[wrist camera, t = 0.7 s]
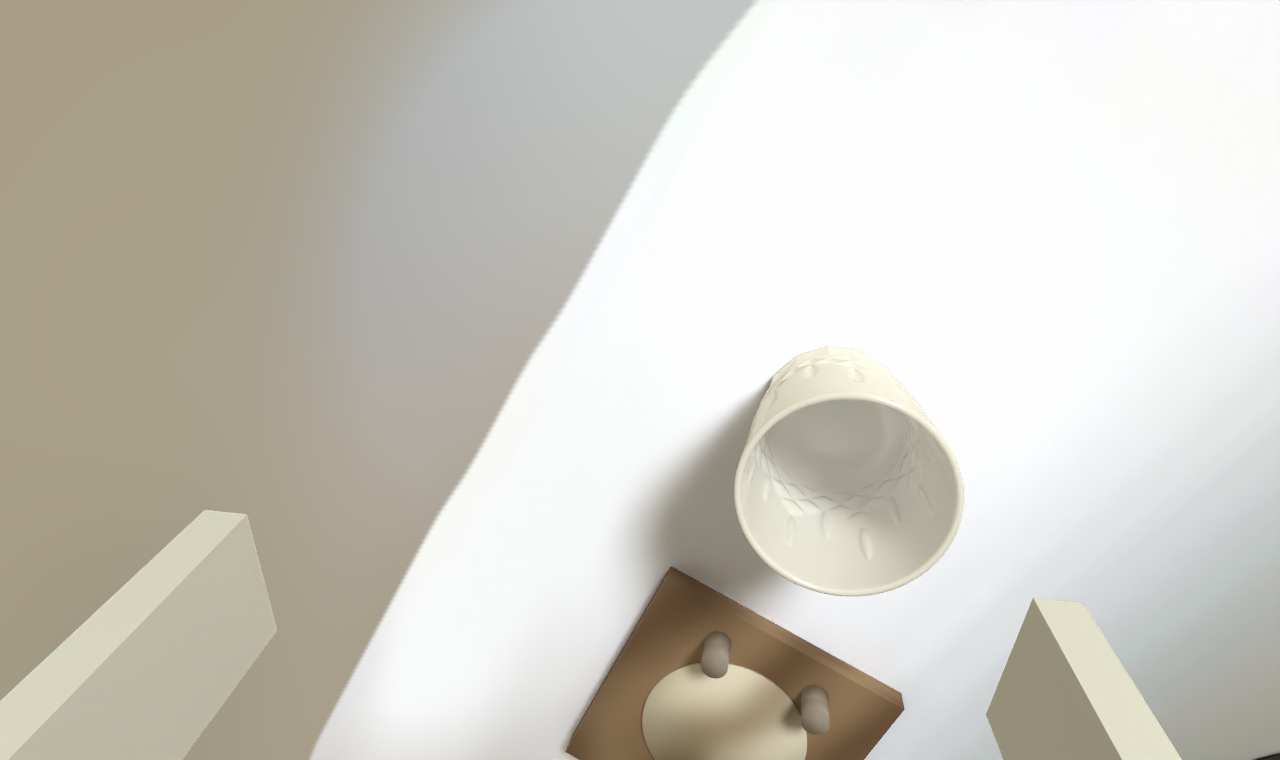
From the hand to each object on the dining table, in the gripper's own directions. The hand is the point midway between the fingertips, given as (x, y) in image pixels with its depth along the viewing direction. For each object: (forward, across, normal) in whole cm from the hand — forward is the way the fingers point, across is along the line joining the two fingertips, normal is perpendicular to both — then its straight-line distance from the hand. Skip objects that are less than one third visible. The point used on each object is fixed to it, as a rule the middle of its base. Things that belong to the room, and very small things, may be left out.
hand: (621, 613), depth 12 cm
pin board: (+19, -4, +26) cm, 33 cm away
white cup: (+22, -8, +8) cm, 25 cm away
